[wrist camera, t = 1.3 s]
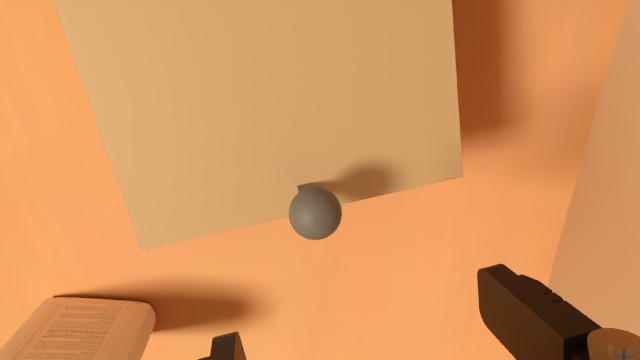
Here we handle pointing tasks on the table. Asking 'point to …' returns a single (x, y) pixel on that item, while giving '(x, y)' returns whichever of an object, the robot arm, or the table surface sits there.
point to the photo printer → (82, 331)
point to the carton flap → (265, 106)
